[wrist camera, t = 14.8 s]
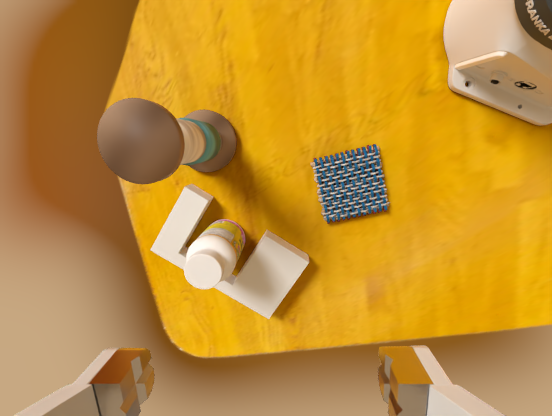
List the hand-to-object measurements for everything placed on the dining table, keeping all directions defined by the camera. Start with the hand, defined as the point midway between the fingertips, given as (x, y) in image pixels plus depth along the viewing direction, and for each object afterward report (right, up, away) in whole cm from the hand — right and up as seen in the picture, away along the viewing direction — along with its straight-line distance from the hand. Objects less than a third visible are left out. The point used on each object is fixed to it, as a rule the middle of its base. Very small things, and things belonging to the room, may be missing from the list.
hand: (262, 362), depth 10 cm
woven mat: (+12, +9, +34) cm, 37 cm away
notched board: (-7, -1, +37) cm, 37 cm away
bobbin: (-10, +16, +33) cm, 38 cm away
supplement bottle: (-8, +1, +37) cm, 38 cm away
